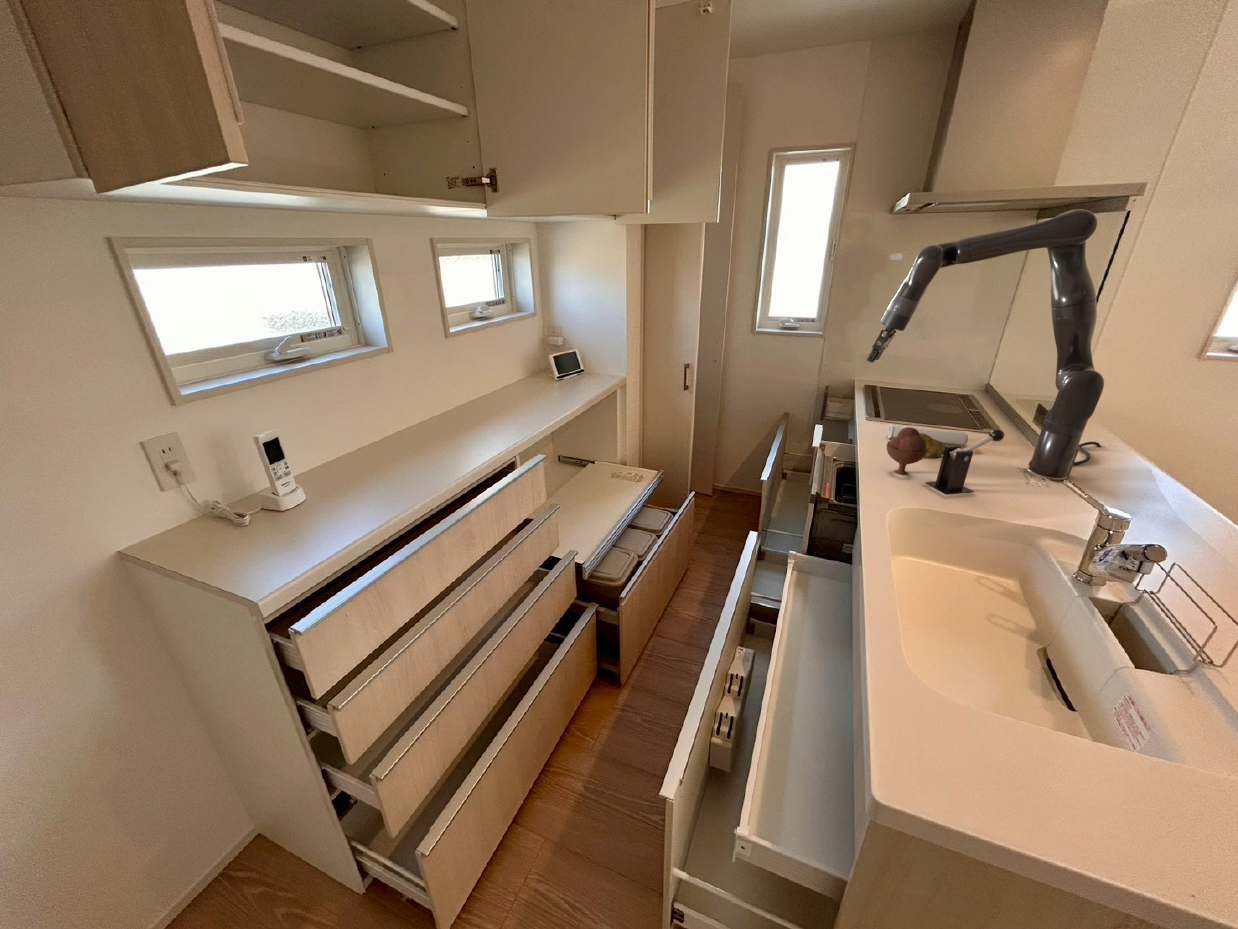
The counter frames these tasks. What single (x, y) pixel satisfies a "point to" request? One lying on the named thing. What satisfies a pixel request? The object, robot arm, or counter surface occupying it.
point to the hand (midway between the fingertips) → (872, 360)
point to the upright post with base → (953, 472)
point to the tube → (935, 435)
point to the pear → (933, 446)
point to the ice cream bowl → (906, 448)
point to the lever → (981, 442)
